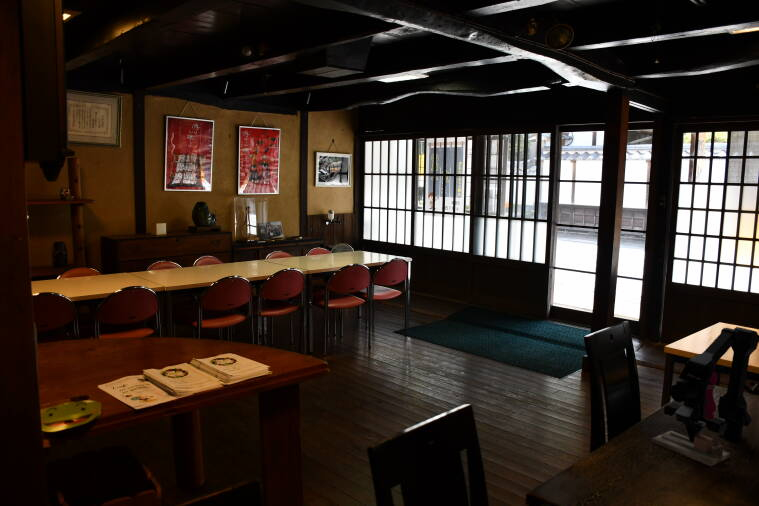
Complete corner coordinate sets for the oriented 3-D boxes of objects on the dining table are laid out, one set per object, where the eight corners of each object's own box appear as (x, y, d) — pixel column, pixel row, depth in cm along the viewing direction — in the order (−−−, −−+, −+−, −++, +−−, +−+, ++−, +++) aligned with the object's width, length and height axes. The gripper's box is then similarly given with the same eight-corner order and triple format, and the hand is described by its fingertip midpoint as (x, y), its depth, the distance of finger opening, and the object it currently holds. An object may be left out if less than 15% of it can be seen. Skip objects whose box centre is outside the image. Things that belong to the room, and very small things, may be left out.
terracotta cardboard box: (699, 445, 198) (701, 434, 198) (712, 450, 195) (713, 438, 194) (693, 448, 196) (694, 437, 195) (705, 453, 193) (706, 441, 192)
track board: (670, 434, 211) (672, 422, 210) (729, 457, 194) (730, 444, 194) (651, 442, 204) (652, 429, 203) (710, 466, 187) (712, 453, 187)
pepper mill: (717, 422, 223) (723, 371, 220) (697, 419, 224) (702, 369, 222) (711, 414, 230) (716, 365, 228) (691, 412, 231) (696, 363, 229)
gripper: (656, 392, 199) (652, 436, 201) (712, 411, 184) (707, 458, 186) (674, 386, 206) (670, 429, 208) (730, 404, 190) (725, 450, 192)
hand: (691, 441), depth 198 cm, fingers closed
